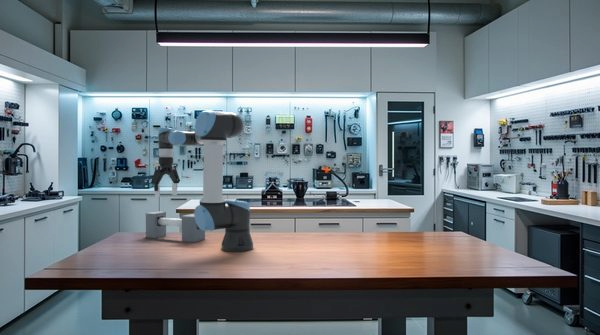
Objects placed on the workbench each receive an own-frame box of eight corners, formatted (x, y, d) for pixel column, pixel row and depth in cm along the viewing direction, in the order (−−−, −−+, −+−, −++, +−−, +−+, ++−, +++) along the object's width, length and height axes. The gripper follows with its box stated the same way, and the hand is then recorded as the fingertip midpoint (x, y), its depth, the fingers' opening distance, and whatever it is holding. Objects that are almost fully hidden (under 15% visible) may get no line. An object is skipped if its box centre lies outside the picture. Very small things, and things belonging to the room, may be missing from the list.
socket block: (166, 235, 233) (165, 211, 232) (154, 238, 225) (154, 213, 224) (157, 234, 235) (157, 211, 235) (145, 237, 227) (145, 213, 227)
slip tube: (195, 227, 222) (195, 219, 222) (190, 228, 218) (190, 220, 218) (158, 224, 232) (158, 216, 232) (152, 225, 228) (152, 217, 228)
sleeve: (205, 239, 223) (205, 214, 222) (194, 242, 214) (194, 216, 214) (192, 237, 226) (192, 213, 225) (181, 240, 218) (181, 215, 217)
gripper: (175, 156, 239) (175, 194, 239) (143, 156, 216) (143, 197, 216) (186, 156, 236) (186, 194, 236) (155, 156, 213) (155, 198, 213)
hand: (166, 196), depth 226 cm, fingers open, 13 cm apart
